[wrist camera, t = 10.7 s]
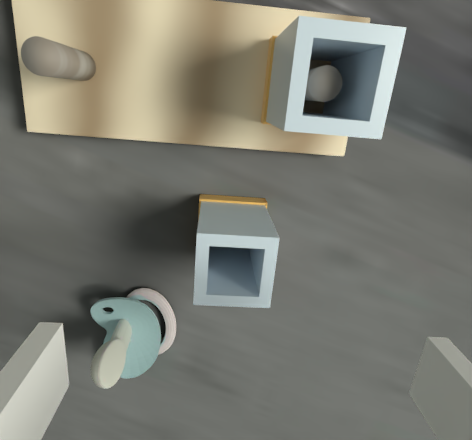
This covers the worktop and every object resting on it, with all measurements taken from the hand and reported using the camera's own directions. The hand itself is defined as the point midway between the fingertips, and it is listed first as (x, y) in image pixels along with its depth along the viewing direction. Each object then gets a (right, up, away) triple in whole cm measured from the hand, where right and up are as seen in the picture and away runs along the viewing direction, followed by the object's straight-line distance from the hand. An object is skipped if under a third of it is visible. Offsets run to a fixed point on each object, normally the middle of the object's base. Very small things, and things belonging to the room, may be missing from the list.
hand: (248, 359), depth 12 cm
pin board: (-3, +14, +9) cm, 17 cm away
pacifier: (-8, -3, +16) cm, 18 cm away
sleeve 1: (-1, +5, +13) cm, 14 cm away
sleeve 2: (+4, +13, +8) cm, 16 cm away
